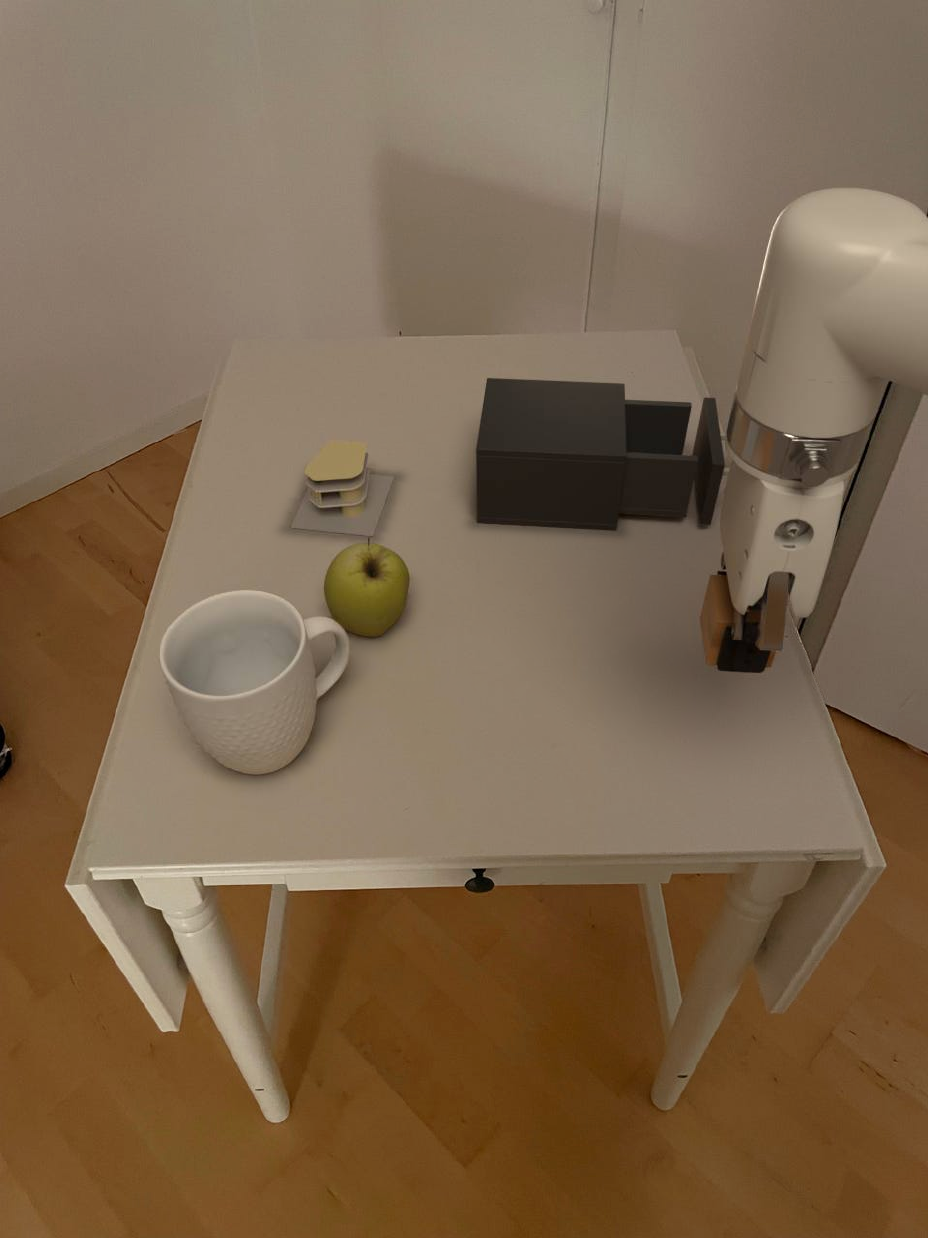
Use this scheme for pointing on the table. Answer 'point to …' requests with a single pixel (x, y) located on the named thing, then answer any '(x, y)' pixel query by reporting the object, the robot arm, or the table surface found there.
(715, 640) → the block
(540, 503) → the dark grey box
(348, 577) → the apple
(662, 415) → the drawer
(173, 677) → the mug
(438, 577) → the table surface
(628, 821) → the table surface
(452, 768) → the table surface
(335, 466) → the stacked layers on plate
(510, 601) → the table surface
